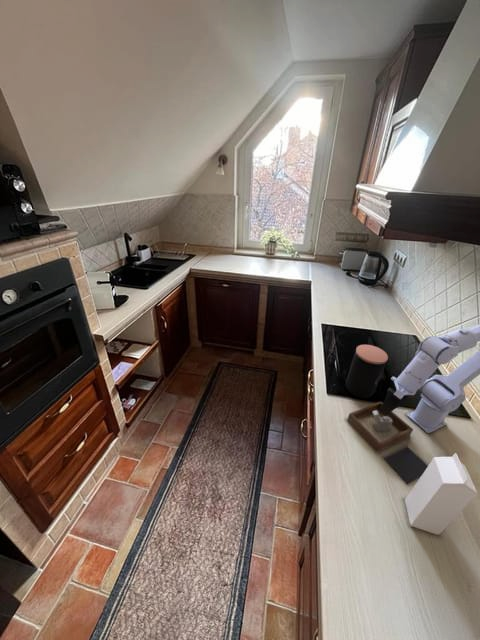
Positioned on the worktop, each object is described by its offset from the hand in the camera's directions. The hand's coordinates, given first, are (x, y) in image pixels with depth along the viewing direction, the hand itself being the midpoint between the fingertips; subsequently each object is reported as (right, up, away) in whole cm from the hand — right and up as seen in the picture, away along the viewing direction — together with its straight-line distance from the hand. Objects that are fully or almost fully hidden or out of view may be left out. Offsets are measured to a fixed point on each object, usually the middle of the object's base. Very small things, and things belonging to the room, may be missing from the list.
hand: (386, 407), depth 78 cm
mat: (+4, -15, -4) cm, 16 cm away
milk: (0, -22, -15) cm, 27 cm away
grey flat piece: (+1, -9, +7) cm, 12 cm away
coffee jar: (+2, -1, +22) cm, 22 cm away
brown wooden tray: (+1, -9, +7) cm, 11 cm away
